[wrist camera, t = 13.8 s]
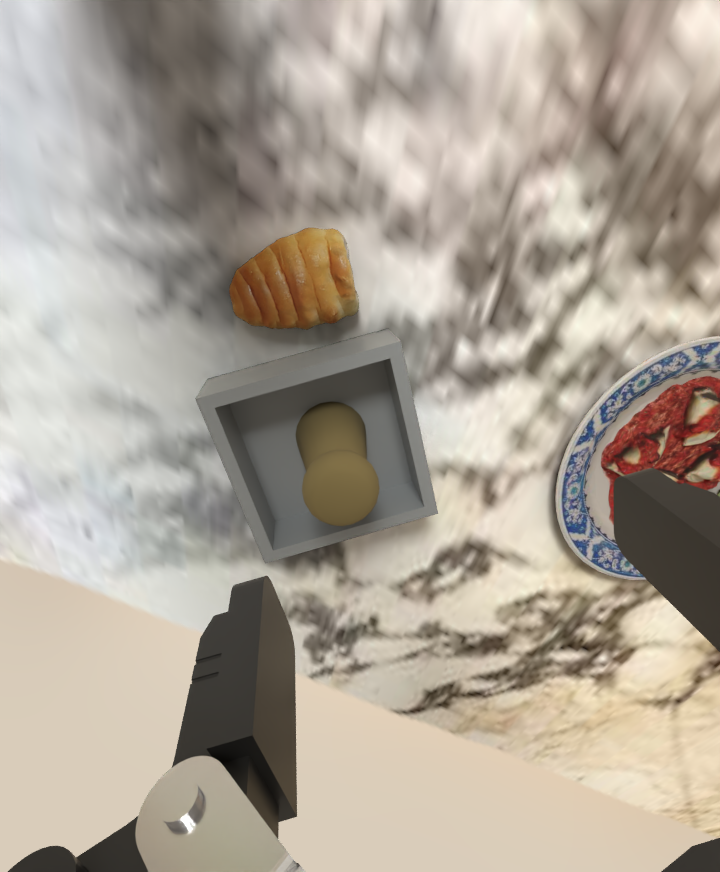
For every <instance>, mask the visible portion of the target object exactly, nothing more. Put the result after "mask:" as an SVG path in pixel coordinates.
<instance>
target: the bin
mask: <svg viewBox="0 0 720 872" xmlns="http://www.w3.org/2000/svg"><path fill="white" fill-rule="evenodd" d="M196 401H197V404H198V406H199V408H200V411H201V413H202V415H203V418H204V420H205V423H206V425H207V427H208V430H209V432H210V434H211V437H212V439H213V441H214V444H215V446H216V449H217V451H218V453H219V456H220V458H221V460H222V463H223V465H224V467H225V470H226V472H227V474H228V477H229V479H230V482H231V484H232V486H233V489H234V491H235V493H236V496H237V498H238V500H239V503H240V505H241V508H242V510H243V512H244V515H245V517H246V519H247V522H248V524H249V526H250V529H251V531H252V533H253V536H254V538H255V541H256V543H257V545H258V548H259V550H260V552H261V555H262V557H263V559H264V562H265V563H268V562H272V561H275V560H279V559H282V558H286V557H289V556H293V555H296V554H300V553H303V552H306V551H310V550H313V549H317V548H320V547H324V546H327V545H331V544H334V543H338V542H341V541H345V540H348V539H351V538H355V537H358V536H362V535H365V534H369V533H372V532H376V531H379V530H383V529H386V528H390V527H393V526H397V525H400V524H403V523H407V522H410V521H414V520H417V519H421V518H424V517H428V516H431V515H435V514H438V511H437V506H436V502H435V497H434V492H433V488H432V483H431V479H430V474H429V469H428V465H427V460H426V455H425V451H424V446H423V442H422V437H421V432H420V428H419V423H418V419H417V414H416V409H415V405H414V400H413V395H412V391H411V386H410V382H409V377H408V372H407V368H406V363H405V359H404V354H403V349H402V345H401V341H400V340H399V339H398V338H397V337H396V336H395V335H394V334H393V333H392V332H391V331H390V330H389V329H384V330H380V331H377V332H373V333H370V334H366V335H363V336H359V337H356V338H352V339H348V340H345V341H341V342H338V343H334V344H331V345H327V346H324V347H320V348H317V349H313V350H309V351H306V352H302V353H299V354H295V355H292V356H288V357H285V358H281V359H277V360H274V361H270V362H267V363H263V364H260V365H256V366H253V367H249V368H245V369H242V370H238V371H235V372H231V373H228V374H224V375H221V376H217V377H213V378H210V379H207V381H206V383H205V384H204V386H203V387H202V389H201V391H200V392H199V394H198V396H197V397H196ZM331 401H332V402H339V403H344V404H346V405H348V406H350V407H352V408H353V409H354V410H355V411H356V412H357V413H358V414H360V416H361V418H362V420H363V422H364V424H365V429H366V445H367V461H368V462H369V463H371V464H372V466H373V468H374V470H375V472H376V474H377V476H378V480H379V488H380V489H379V495H378V499H377V503H376V505H375V506H374V508H373V509H372V511H371V512H370V513H369V514H368V515H367V516H366V517H364V518H363V519H362V520H360V521H358V522H356V523H354V524H352V525H346V526H334V525H329V524H327V523H324V522H322V521H320V520H318V519H317V518H316V517H315V516H313V515H312V514H311V512H310V511H309V509H308V508H307V506H306V504H305V502H304V499H303V494H302V484H303V478H304V475H305V473H306V469H305V466H304V463H303V460H302V458H301V455H300V452H299V449H298V446H297V441H296V436H295V435H296V429H297V425H298V423H299V421H300V419H301V417H302V416H303V415H304V414H305V413H306V412H307V411H308V410H309V409H310V408H312V407H314V406H316V405H318V404H320V403H325V402H331Z"/></svg>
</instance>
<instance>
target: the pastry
mask: <svg viewBox="0 0 720 872" xmlns="http://www.w3.org/2000/svg"><path fill="white" fill-rule="evenodd" d="M229 292H230V298H231V301H232V305H233V310H234V313H235V315H236V316H237V317H239V318H240V319H242V320H244V321H246V322H247V323H248V324H250V325H252V326H266V327H269V328H272V329H274V328H277V329H283V328H294V327H296V328H301V329H306V330H308V329H310V328H312V327H313V326H315V325H319V324H323V323H330V324H331V323H335V322H337V321H339V320H340V319H341V318H343V317H346V316H353V315H355V314H356V313H357V311H358V308H359V300H358V294H357V292H356V290H355V287H354V279H353V273H352V268H351V265H350V262H349V250H348V247H347V242H346V240H345V238H344V236H343V235H342V234H341V233H340V232H339V231H338V230H335V229H318V228H306V229H304V230H302V231H300V232H298V233H296V234H292V235H290V236H288V237H284V238H280V239H278V240H276V241H275V242H274V243H273V244H271V245H269V246H268V247H266V248H265V249H264V250H263V251H262V252H260V253H259V254H257V255H256V256H255V257H253V258H251V259H250V260H249V261H248V262H246V263H245V264H244V265H243V266H242V267H240V268H239V269H237V271H236V273H235V275H234V277H233V280H232V283H231V284H230V290H229Z"/></svg>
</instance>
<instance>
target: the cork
mask: <svg viewBox="0 0 720 872" xmlns="http://www.w3.org/2000/svg"><path fill="white" fill-rule="evenodd" d="M295 436H296V441H297V446H298V449H299V452H300V455H301V458H302V460H303V463H304V466H305V469H306V473H305V475H304V478H303V484H302V494H303V499H304V502H305V504H306V506H307V508H308V509H309V511H310V512H311V514H312V515H313V516H315V517H316V518H317V519H318V520H320V521H322V522H324V523H327V524H329V525H334V526H346V525H352V524H354V523H356V522H358V521H360V520H362V519H363V518H364V517H366V516H367V515H368V514H369V513H370V512H371V511H372V509H373V508H374V506H375V505H376V503H377V499H378V495H379V489H380V488H379V480H378V476H377V474H376V472H375V470H374V468H373V466H372V464H371V463H369V462H368V461H367V445H366V429H365V424H364V422H363V420H362V418H361V416H360V414H358V413H357V412H356V411H355V410H354V409H353V408H352V407H350V406H348V405H346V404H344V403H339V402H332V401H331V402H325V403H320V404H318V405H316V406H314V407H312V408H310V409H309V410H308V411H307V412H306V413H305V414H304V415H303V416H302V417H301V419H300V421H299V423H298V425H297V429H296V435H295Z"/></svg>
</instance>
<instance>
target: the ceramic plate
mask: <svg viewBox="0 0 720 872" xmlns="http://www.w3.org/2000/svg"><path fill="white" fill-rule="evenodd" d="M648 468H654V469H657V470H659V471H660V472H662V473H663V474H665V475H666V476H668V477H669V478H671V479H672V480H674V481H675V482H677V483H678V484H682V483H687V484H690V485H692V486H695V487H698V488H701V489H704V490H707V491H710V492H713V493H715V494H716V495H718V496H719V497H720V336H715V337H708V338H701V339H697V340H694V341H690V342H686V343H682V344H679V345H677V346H675V347H672V348H670V349H668V350H665V351H663V352H660V353H658V354H657V355H655V356H653V357H651V358H649V359H647V360H646V361H644V362H643V363H641V364H639V365H638V366H636V367H635V368H633V369H632V370H631V371H629V372H628V373H627V374H625V375H624V376H623V377H622V378H620V379H619V380H618V381H617V382H616V383H615V384H614V385H613V386H611V387H610V388H609V389H608V390H607V391H606V392H605V393H604V394H603V395H602V396H601V397H600V398H599V400H598V401H597V402H596V403H595V404H594V406H593V407H592V408H591V409H590V410H589V411H588V413H587V414H586V416H585V417H584V418H583V420H582V421H581V423H580V424H579V426H578V428H577V429H576V431H575V433H574V434H573V436H572V438H571V440H570V442H569V444H568V446H567V449H566V451H565V454H564V456H563V459H562V462H561V465H560V469H559V473H558V478H557V483H556V494H555V503H556V513H557V519H558V523H559V526H560V529H561V532H562V534H563V536H564V538H565V540H566V542H567V543H568V545H569V547H570V548H571V549H572V551H573V552H574V553H575V554H576V555H577V556H578V557H579V558H580V559H581V560H582V561H583V562H584V563H586V564H587V565H589V566H590V567H592V568H594V569H595V570H597V571H599V572H601V573H604V574H606V575H609V576H613V577H617V578H622V579H628V580H647V579H646V578H645V577H644V576H643V575H642V574H641V573H640V572H639V571H638V570H637V569H636V568H635V567H634V566H633V565H632V564H631V563H630V562H629V561H628V560H627V559H626V558H625V557H624V556H623V554H622V553H621V551H620V549H619V548H618V545H617V543H616V540H615V537H614V481H615V479H616V478H618V477H620V476H624V475H627V474H631V473H634V472H638V471H641V470H645V469H648Z"/></svg>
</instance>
